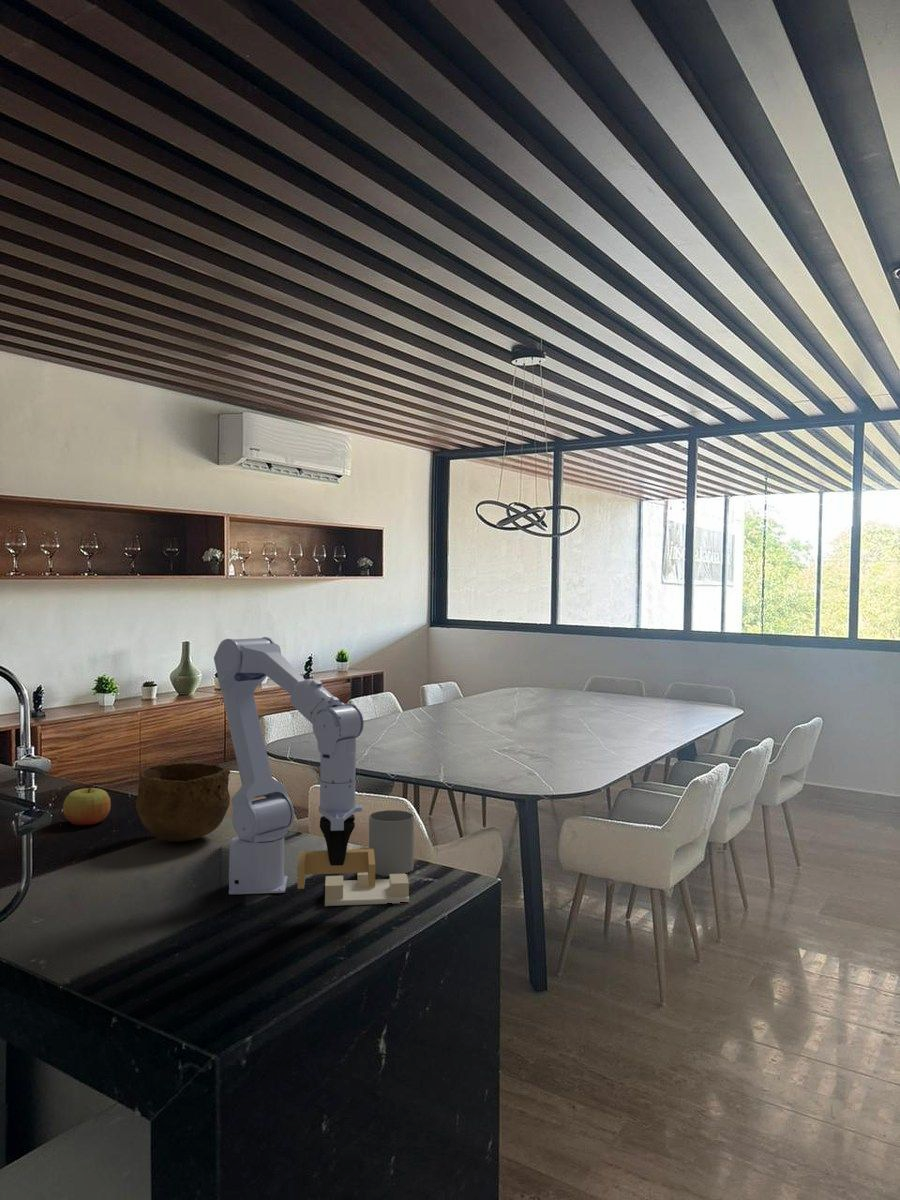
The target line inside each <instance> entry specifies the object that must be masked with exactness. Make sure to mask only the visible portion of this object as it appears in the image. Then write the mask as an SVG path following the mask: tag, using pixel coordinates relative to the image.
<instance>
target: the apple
mask: <svg viewBox="0 0 900 1200" xmlns="http://www.w3.org/2000/svg"><path fill="white" fill-rule="evenodd" d="M62 806H63V807H62V810H63V811H62V812H63V815H64V816H65V818H66V819H67V821H68V822H70V823H71V824H73V825H76V826H91V825H92V826H93V825H96V824H98V823H99V824H100V823H101V822H102V821H103V820H104V819H106V818H107V816H108V815H109V814H110V811H111V806H112V804H111V797H110V796H109V793H108V792H107V791H106V790H104V789H101V788H97V787H88V788H79V789H76V790H75V789H74V790H73V791H71V792H70V793H69V794H68V795H66V797H65V799H64V801H63V805H62Z"/></svg>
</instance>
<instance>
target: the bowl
mask: <svg viewBox="0 0 900 1200" xmlns="http://www.w3.org/2000/svg"><path fill="white" fill-rule="evenodd" d="M230 773H231V770H230V768H228V767H226V766H221V765H217V764H216V763H213V764H211V763H204V762H203V763H201V762H191V761H190V762H176V763H164V764H155V765H151V766H147V767H144V768H142V769H141V770H140V772H139V776H138V778H139V779H138V787H137V788H138V792H137V797H136V801H135V809H136V811H137V814H138V816H139V819H140V820H141V823H142V826H143V827H144V828H145V829H146V830H147V831H148V832H150V834H152V835H153V836H154V837H155V838H158V839H162V840H163V841H166V842H179V843H180V842H186V841H193V840H197V839H200V838H202V837H205V836H207V835H209V834H210V833H212V832H213V831H215V830H216V829H217V828H218V827H219V826H220V825H221V824H222V822H223V820H224V819H225V816H226V814H227V811H228V809H229V806H230V804H231V795H230V791H229V781H230V779H229V778H230V777H229V776H230Z"/></svg>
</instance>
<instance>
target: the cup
mask: <svg viewBox="0 0 900 1200" xmlns="http://www.w3.org/2000/svg"><path fill="white" fill-rule="evenodd" d="M414 822H415V816H414V814H413V813H412V812H408V811H404V810H398V809H397V810H395V809H393V810H392V809H391V810H388V809H386V810H379V811H375V812H372V813H370V814H369V816H368V849H374V857H375V875H379V876H383V877H386V876H387V877H389V875H390V874H405V873H407V874H409V873H411V872H412V871H413V870H414V869H415V868H414V865H415V864H414V863H415V862H414V855H415V854H414V853H415V852H414V851H415V850H414V849H415V848H414V846H415V845H414V844H415V843H414V842H415V841H414V840H415V839H414V837H415V834H414V833H415V832H414V831H415V827H414V826H415V825H414V824H415V823H414ZM410 871H411V872H410ZM408 872H409V873H408Z"/></svg>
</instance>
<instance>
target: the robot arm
mask: <svg viewBox="0 0 900 1200" xmlns="http://www.w3.org/2000/svg"><path fill="white" fill-rule="evenodd" d="M213 662H214V667H215V669H216V670H215V671H216V675H217V680H218V684H219V687H220V690H221V695H222V698H223V699H222V700H223V704H224V709H225V714H226V718H227V723H228V728H229V732H230V735H231V740H232V741H231V742H232V747H233V750H234V756H235V759H236V763H237V764H236V765H237V769H238V774H239V778H240V783H241V787H239V788H238V790H237V792H235V794H234V795H233V797H232V798H231V799H230V802H231V805H232V816H231V821H232V827H233V830H234V832H235V833H236V834H237V837H236V836H234V837H231V840H230V843H229V844H230V845H229V854H228V855H229V863H228V864H229V865H228V868H229V869H228V883H229V884H228V895H229V896H230V895H255V894H256V895H258V894H260V895H261V894H282V893H285V892H286V888H287V883H288V878H289V877H288V875H285V835H288V832H289V831H288V829H289V828H291V826H292V824H293V823H294V820H295V809H294V808H295V807H294V804H293V803H292V800H291V799H290V797H289V795H288V792H287V789H286V786H285V785H284V784H283V783H281V782H280V781H278V780H277V779H275V778H274V777H273V775H272V772H271V770H272V769H271V766H270V761H269V758H268V752H267V749H266V744H265V740H264V735H263V732H262V731H263V730H262V727H261V726H262V725H261V722H260V718H259V713H258V707H257V704H256V700H255V696H254V694H255V690H256V688H257V687H258V686H260V685H261V684H262V683H263V682H264V680H266V678H269V679H270V680H272V682H274V683H275V684H276V685H278V686H279V687H280V688H282V689H283V690H284V691H285V692H286V693H288V694H289V695H290V704H291V706H292V707H294V709H295V710H296V711H298V712H299V713H300V714H301V715H302V717H304V718H305V720H307V721H309V723H311V725H312V732H313V734H314V736H315V738H316V740H317V750H318V753H320V755H319V756H320V762H319V763H320V764H319V765H320V768H319V769H320V770H319V771H320V773H319V777H320V779H319V780H320V781H319V806H318V813H319V814H321V817H319V818H320V821H319V829H320V831H321V833H322V834H323V836H324V837H323V838H324V841H325V843H326V850H328V856H329V861H330V865H331V866H333V865H343V864H344V861H345V856H346V850H348V845H349V840H350V838H351V835H352V833H353V831H354V828H355V827H356V823H355V820H356V817H355V813H361V812H363V805H362V804H356V768H357V766H356V764H357V763H356V761H357V760H356V759H357V755H356V752H357V745H356V744H357V738H359V737H360V736H361V734H362V732H363V730H364V726H365V725H364V724H365V723H364V717H363V714H362V712H361V710H360V709H359V708H358V706H357V705H356V704H354V703H344V702H341V701H340V699H339V698H338V697H337V696H334V695H333V694H332V693H331V692H329V690H327V689H326V688H325V687H324V686H323V682H322V681H321V680H319V679H313V678H307V679H305V677H303V676H302V675H301V673H299V671H298V670H297V669H296V668H295V667H294V666H293V665H292V664H291V663H290V662H289V661H288V660H287V659H286V658H285V657H284V656H283V655H282V651H281V646H280V645H279V644H277V643H276V642H275V641H274V640H273V639H272V638H271V637H268V636H265V637H260V638H259V637H256V638H236V639H235V638H234V639H233V638H224V639H223V640H222V641H221V642H220V643H219V645H218V647H217V650H216V652H215V654H214V656H213ZM261 797H262V798H261ZM263 797H264V798H263ZM257 798H259V799H257ZM254 799H256V800H254Z"/></svg>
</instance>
